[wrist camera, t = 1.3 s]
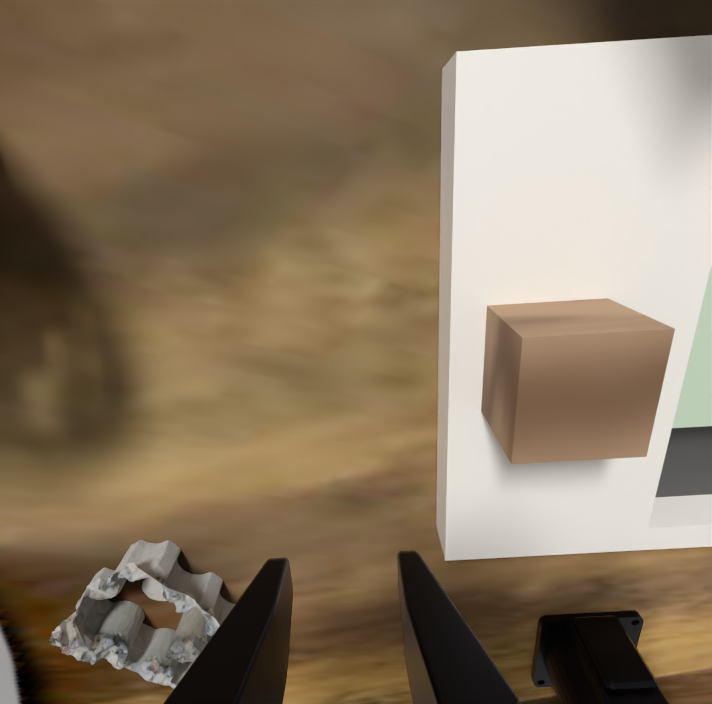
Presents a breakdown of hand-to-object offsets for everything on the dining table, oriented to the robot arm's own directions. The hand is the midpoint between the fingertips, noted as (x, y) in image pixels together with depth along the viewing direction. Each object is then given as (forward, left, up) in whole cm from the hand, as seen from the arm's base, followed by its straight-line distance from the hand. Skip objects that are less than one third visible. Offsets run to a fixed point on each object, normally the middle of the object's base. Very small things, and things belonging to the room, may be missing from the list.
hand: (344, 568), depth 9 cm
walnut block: (0, -8, -10) cm, 14 cm away
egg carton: (-16, +12, -14) cm, 24 cm away
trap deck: (0, -13, -13) cm, 19 cm away
